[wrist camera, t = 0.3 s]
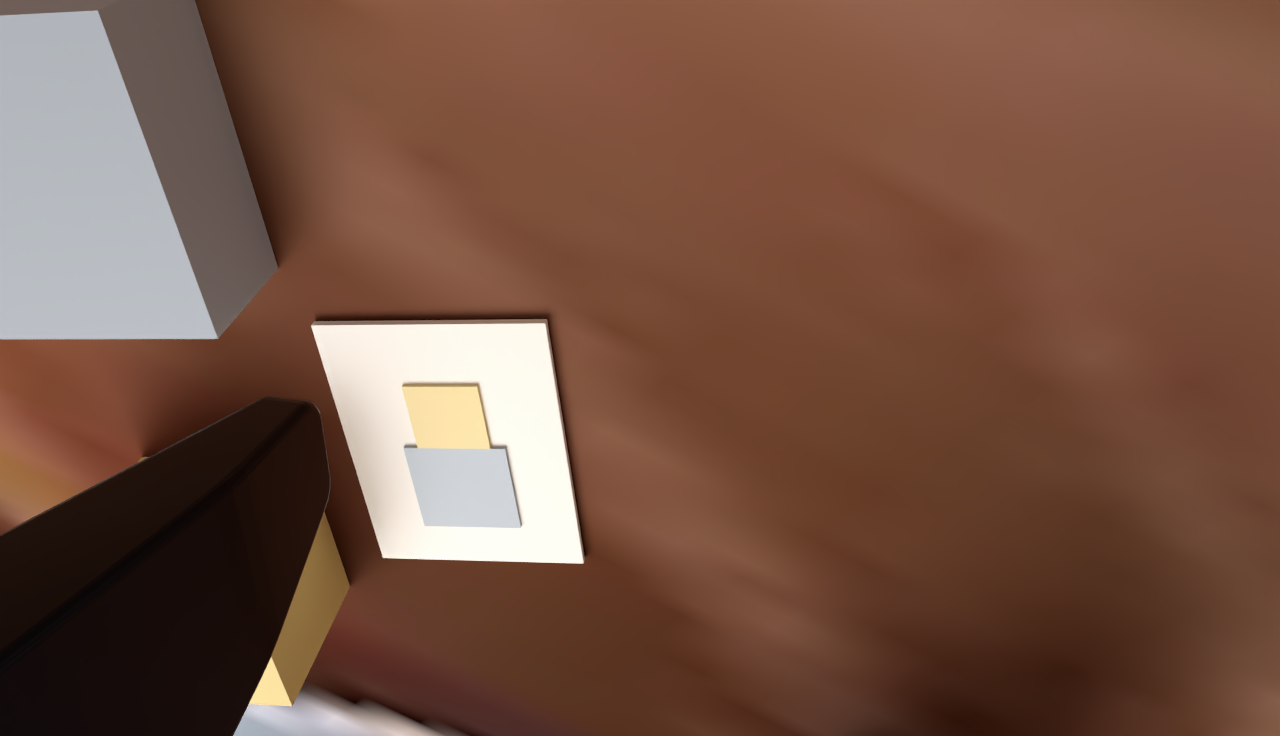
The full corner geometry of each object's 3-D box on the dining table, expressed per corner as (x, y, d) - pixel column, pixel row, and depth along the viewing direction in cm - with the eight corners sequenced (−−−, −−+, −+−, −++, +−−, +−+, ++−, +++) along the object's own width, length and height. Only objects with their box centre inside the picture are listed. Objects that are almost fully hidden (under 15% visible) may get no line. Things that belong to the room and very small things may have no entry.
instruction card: (584, 558, 29) (583, 566, 29) (385, 553, 30) (381, 560, 30) (546, 319, 25) (544, 325, 24) (314, 321, 25) (309, 327, 25)
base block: (283, 262, 25) (217, 338, 22) (27, 265, 26) (-68, 339, 23) (191, -35, 21) (97, 10, 18) (-106, -18, 22) (-240, 27, 19)
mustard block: (351, 583, 31) (292, 706, 27) (200, 579, 32) (122, 697, 28) (308, 456, 28) (235, 573, 25) (143, 454, 29) (49, 567, 25)
